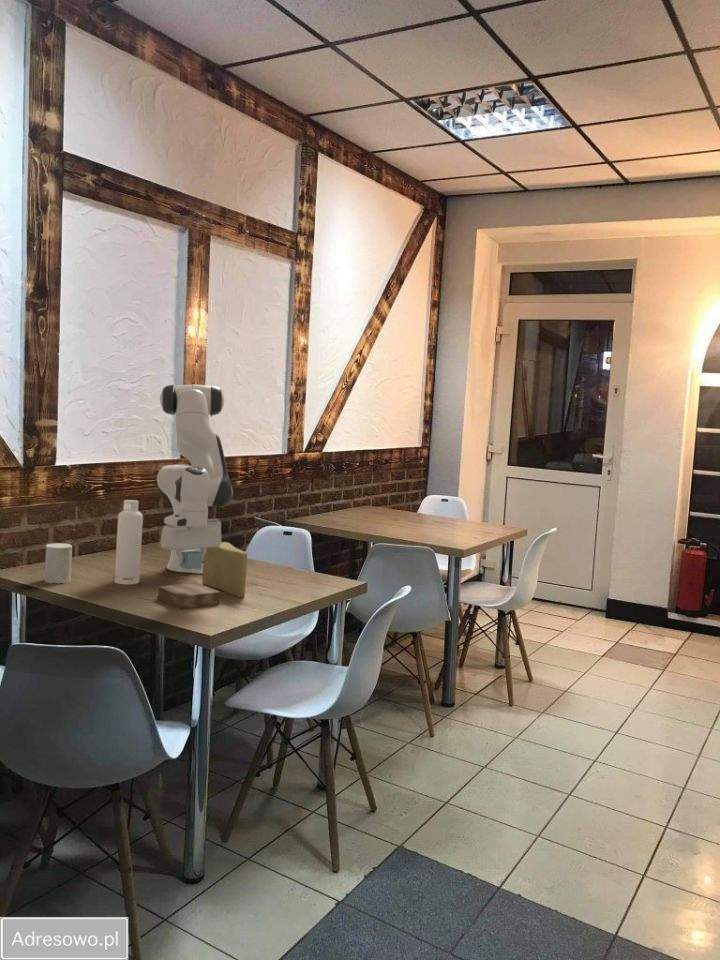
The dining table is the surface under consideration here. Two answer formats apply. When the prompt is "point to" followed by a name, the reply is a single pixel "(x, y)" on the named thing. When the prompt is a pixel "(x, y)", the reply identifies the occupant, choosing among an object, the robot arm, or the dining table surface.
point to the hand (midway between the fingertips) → (190, 562)
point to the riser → (188, 595)
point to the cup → (58, 563)
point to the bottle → (128, 544)
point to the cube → (191, 559)
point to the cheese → (225, 569)
